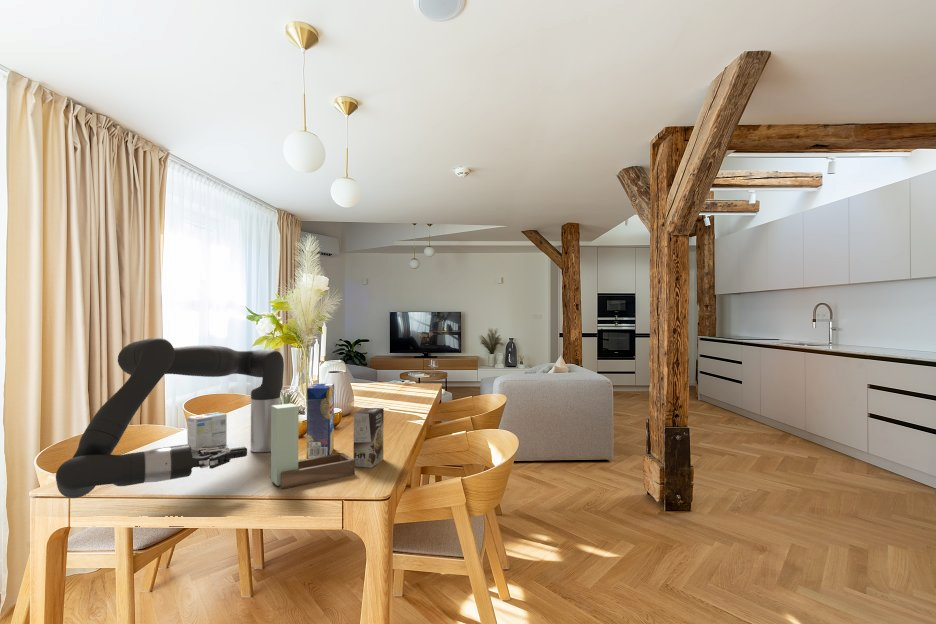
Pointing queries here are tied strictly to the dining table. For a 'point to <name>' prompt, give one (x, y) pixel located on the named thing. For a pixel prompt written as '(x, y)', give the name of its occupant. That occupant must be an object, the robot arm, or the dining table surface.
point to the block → (284, 440)
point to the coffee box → (368, 437)
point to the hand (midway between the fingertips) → (246, 451)
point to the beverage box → (320, 420)
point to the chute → (318, 470)
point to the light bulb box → (207, 430)
